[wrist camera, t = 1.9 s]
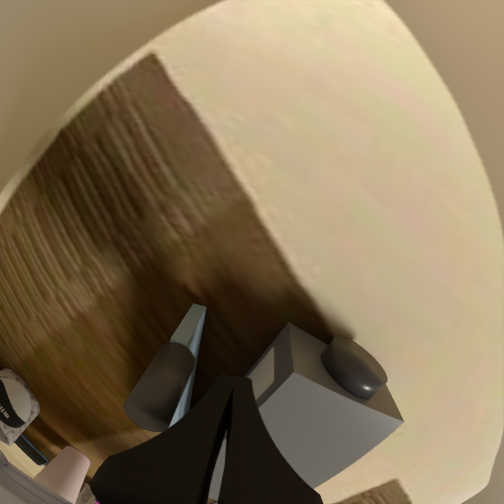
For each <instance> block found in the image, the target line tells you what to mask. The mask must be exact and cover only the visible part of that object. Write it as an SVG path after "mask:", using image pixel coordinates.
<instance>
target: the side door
mask: <svg viewBox="0 0 504 504" xmlns="http://www.w3.org/2000/svg"><path fill="white" fill-rule="evenodd" d="M206 308H207V307H205V306H201V305H198V304H194V303H193V305H192V306H191V308H190V309H189V311H188V312H187V314H186V315H185V317H184V318H183V320H182V322H181V323H180V325H179V326H178V328H177V329H176V331H175V332H174V334H173V335H172V337H171V339H170V342H169V343H165V344H164V345H162V346H161V348H160V349H159V351H158V352H157V354H156V355H155V357H154V358H153V360H152V361H151V363H150V364H149V366H148V367H147V369H146V370H145V372H144V373H143V375H142V376H141V378H140V379H139V381H138V382H137V384H136V386H135V387H134V389H133V390H132V392H131V393H130V395H129V396H128V398H127V399H126V401H125V403H124V410H125V413H126V415H127V416H128V417H129V419H130V420H131V421H132V422H134V423H135V424H136V425H138V426H139V427H141V428H143V429H146V430H148V431H153V432H162V431H165V430H166V429H168V428H169V427H171V426H172V425H173V424H175V423H176V422H177V421H178V420H180V419H181V418H182V417H183V416H184V415H185V414H187V413H188V412H189V410H190V403H191V396H192V390H193V384H194V377H195V371H196V365H197V359H198V353H199V347H200V341H201V336H202V330H203V324H204V319H205V313H206Z"/></svg>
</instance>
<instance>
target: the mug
mask: <svg viewBox="0 0 504 504" xmlns="http://www.w3.org/2000/svg"><path fill="white" fill-rule="evenodd" d="M39 413H40V406H39V403H38V401H37V399H36V397H35V395H34V394H33V392H32V391H31V390H30V388H29V387H28V386H27V384H26V383H25V382H24V381H23V380H22V379H21V378H20V377H19V376H18V375H17V374H16V373H15V372H14V371H12V370H10V369H8V368H4V369H3V370H2V371H0V441H1V442H3V443H4V444H6V445H8V446H11V445H12V444H13V443H14V441H15V440H16V439H17V438H18V437H19V436H20V434H21V433H22V432H23V431H24V430H25V429H26V428H27V426H28V425H29V424H30V423H31V422H32V421H33V420H34V419H35V417H36V416H37V415H38V414H39Z"/></svg>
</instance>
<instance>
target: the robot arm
mask: <svg viewBox="0 0 504 504" xmlns="http://www.w3.org/2000/svg"><path fill="white" fill-rule="evenodd" d="M226 430H227V437H226V451H225V465H224V471H223V476H222V481H221V486H220V492H219V497H218V502H216V503H214V504H323V501H322V499H321V496H320V494H318V493H317V492H316V491H315V490H314V489H313V488H311V487H310V486H309V485H308V484H307V483H306V482H305V481H304V480H303V479H302V478H301V477H300V476H299V475H298V474H297V473H296V472H295V470H294V469H293V468H292V467H291V465H290V464H289V463H288V462H287V460H286V459H285V458H284V457H283V455H282V454H281V452H280V451H279V449H278V448H277V446H276V445H275V443H274V441H273V440H272V438H271V436H270V434H269V432H268V430H267V428H266V426H265V424H264V422H263V419H262V417H261V414H260V411H259V409H258V406H257V403H256V399H255V395H254V391H253V385H252V380H251V379H250V378H244V377H238V376H232V375H226V374H219V375H218V376H217V378H216V380H215V382H214V383H213V385H212V386H211V387H210V389H209V390H208V391H207V392H206V394H205V395H204V396H203V397H202V398H201V399H200V401H199V402H198V403H197V404H196V405H195V406H194V407H193V408H192V409H191V410H190V411H189V412H188V413H187V414H185V415H184V416H183V417H182V418H181V419H180V420H178V421H177V422H176V423H175V424H173V425H172V426H171V427H169V428H168V429H166V430H165V431H163V432H162V433H160V434H159V435H157V436H155V437H154V438H152V439H150V440H148V441H146V442H144V443H142V444H140V445H138V446H136V447H134V448H131V449H129V450H126V451H123V452H121V453H118V454H115V455H112V456H109V457H108V458H107V459H106V460H105V461H104V462H103V463H102V465H101V466H100V467H99V468H98V470H97V471H96V473H95V475H94V477H93V479H92V480H91V482H90V485H89V487H90V489H91V491H92V493H93V495H94V496H95V498H96V499H97V501H98V502H99V504H207V501H208V496H209V491H210V486H211V481H212V476H213V472H214V469H215V465H216V462H217V459H218V456H219V453H220V450H221V447H222V443H223V440H224V437H225V434H226ZM0 504H73V503H72V502H70V501H68V500H66V499H64V498H63V497H61V496H59V495H57V494H56V493H54V492H52V491H51V490H49V489H47V488H46V487H44V486H43V485H41V484H39V483H38V482H36V481H35V480H33V479H32V478H30V477H29V476H27V475H26V474H25V473H23V472H22V471H20V470H19V469H18V468H16V467H15V466H14V465H12V464H11V463H10V462H8V461H7V459H6V457H5V456H4V454H3V453H2V452H1V451H0Z"/></svg>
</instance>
